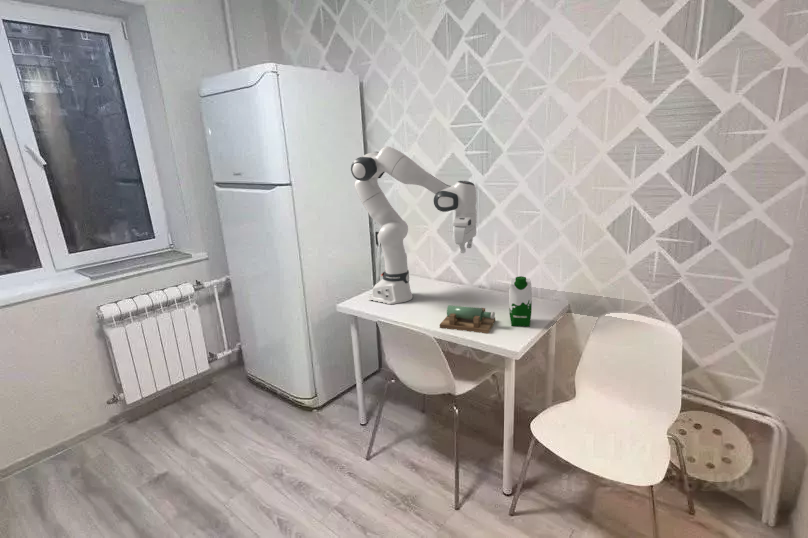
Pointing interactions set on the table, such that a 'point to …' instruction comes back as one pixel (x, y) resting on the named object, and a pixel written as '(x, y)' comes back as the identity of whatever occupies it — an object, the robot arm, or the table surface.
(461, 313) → the bottle
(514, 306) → the milk carton
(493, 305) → the table surface
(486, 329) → the cradle
